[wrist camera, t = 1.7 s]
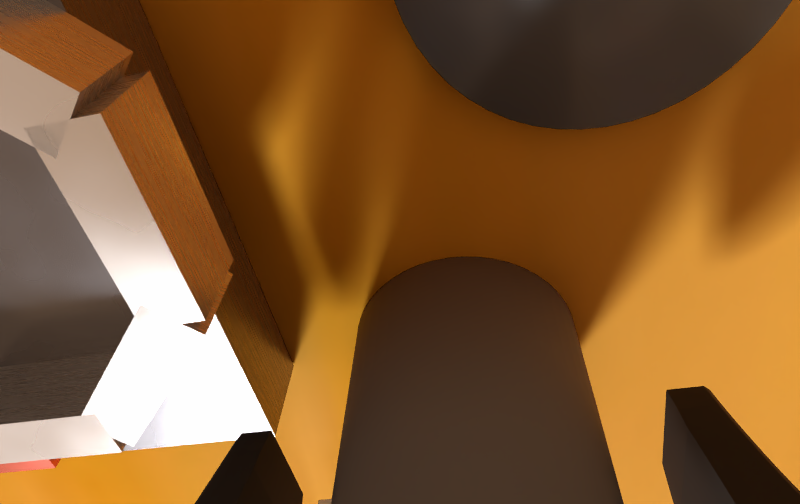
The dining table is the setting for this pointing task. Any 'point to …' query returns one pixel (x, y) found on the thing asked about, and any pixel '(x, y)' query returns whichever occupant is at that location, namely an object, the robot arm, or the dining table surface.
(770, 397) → the dining table surface
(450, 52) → the lens cap
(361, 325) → the lens
